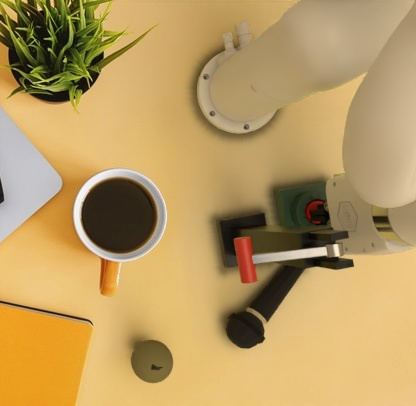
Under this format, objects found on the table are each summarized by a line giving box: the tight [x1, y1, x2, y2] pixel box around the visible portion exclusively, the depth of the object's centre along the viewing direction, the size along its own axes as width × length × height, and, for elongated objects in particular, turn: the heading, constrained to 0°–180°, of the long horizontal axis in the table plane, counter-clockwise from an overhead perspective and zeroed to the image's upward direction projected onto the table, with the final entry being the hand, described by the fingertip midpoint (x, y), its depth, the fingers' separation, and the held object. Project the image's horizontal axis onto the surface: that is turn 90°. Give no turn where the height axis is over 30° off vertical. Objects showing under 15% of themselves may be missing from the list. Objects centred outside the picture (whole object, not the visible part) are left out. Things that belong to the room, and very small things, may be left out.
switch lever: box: [234, 237, 345, 284], centre depth 60 cm, size 5×11×2 cm, turn 100°
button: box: [305, 201, 323, 223], centre depth 80 cm, size 3×3×2 cm
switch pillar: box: [216, 212, 355, 271], centre depth 69 cm, size 7×7×26 cm
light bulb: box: [130, 339, 174, 384], centre depth 75 cm, size 6×6×10 cm
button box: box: [273, 181, 328, 227], centre depth 81 cm, size 8×8×4 cm
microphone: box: [225, 265, 306, 350], centre depth 80 cm, size 6×6×20 cm
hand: (319, 214), depth 79 cm, fingers closed
